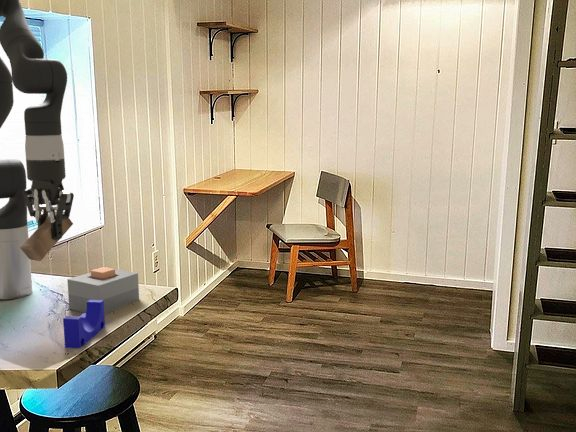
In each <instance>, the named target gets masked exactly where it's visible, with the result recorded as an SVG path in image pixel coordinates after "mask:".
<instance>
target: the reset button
mask: <svg viewBox="0 0 576 432" xmlns="http://www.w3.org/2000/svg"><path fill="white" fill-rule="evenodd" d="M115 269H116V268H113V269H112V267H106V266H105V267H104V266H103V267H99V268H95V269H91V270H90V273H91V277H94V278H98V280H105V279H109V278H108V277H112V276H115Z"/></svg>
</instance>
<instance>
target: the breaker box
mask: <svg viewBox="0 0 576 432" xmlns="http://www.w3.org/2000/svg"><path fill="white" fill-rule="evenodd" d="M111 268H112V267H111ZM112 269H115V276H112V277H108V278H109V279H105V280H98V278H94V277H91V272H87V273H84V274H80V275H77V276H74V277H71V278H67V293H68V294H67V295H68V309H69V310H72V311H76V312H77V311H78V312H80V313H86V311H87V301H89V300H104V315H107V314H108V313H111V312H114V311H115V310H118V309H120V308H122V307H124V306H127V305H130V304H132V303H134V302H137V301H139V300H140V291H139V290H140V289H139V287H140V286H139V273H138V272H135V271H134V272H133V271H127V270H123V269H118V268H112ZM131 302H132V303H131ZM129 303H130V304H129Z"/></svg>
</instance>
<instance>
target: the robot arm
mask: <svg viewBox="0 0 576 432" xmlns="http://www.w3.org/2000/svg"><path fill="white" fill-rule="evenodd" d="M0 17H3V18H5V19H4V20H3V22H2V23H1V26H0V46H1V47H2V50H3V52H4V53H5V55H6V56H7V58H8V59H9V63H10V68H11V69H10V68H8V66H7V65H6V63H5V61H4V60H3V58H2V57H1V56H0V129H2V126H3V125H4V124H5V122H6V120H7V119H8V116H9V114H10V113H11V112H12V109H13V106H14V91H13V90H14V88H15V89H17V90H18V91H19V92H20V93H22V94H23V93H24V94H26V95H27V94H31V95H32V94H35V95H37V94H39V95H40V94H41V95H46V96H45V98H44V100H43V102H42V103H39V104H37V105H36V104H35V105H31V106H29V107H26V108H25V110H24V113H23V117H24V131H25V132H24V133H25V134H24V135H25V144H24V147H25V150H24V152H25V163H26V164H25V165H26V169H25V165H24V163H23V162H22V161H21V160H20V159H16V158H14V159H13V158H12V159H10V158H9V159H0V199H8V202H7V203H6V204H5V205H4V206H2V207H1V208H0V300H13V299H15V300H16V299H22V298H25V297H28V296H29V295H31V294H32V293H33V283H32V282H33V280H32V269H31V268H32V267H31V265H32V264H31V259H29V258H28V257H27V256H26V254H25V253H24V252H23V251H22V250H21V248H20V247H21V246H22V245H23V244H24V243H25V242H26V241H27V240H28V239H29V238H30V237H29V227H28V213H29V216H30V217H31V218H32V217H34V218H35V220H36V222H37V229H38V228H39V227H40V226H41V225H42V224H43V223H44V222H45V220H46V219H47V218H48V217H49V216H50V219H51V223H50V224H51V234H52V239H53V240H57V239H60V240H61V239H62V238H63V236H64V235H63V231H62V221H63V220H64V219H68V218H69V219H70V217H71V216H70V214H71V211H72V206H73V202H74V201H73V200H74V193H73V192H67V191H66V190H65V188H64V185H63V180H64V179H65V178H66V162H65V161H66V160H65V148H64V141H63V135H62V122H61V121H62V120H61V118H62V117H61V115H62V109H63V108H62V107H63V102H64V97H65V93H66V89H67V85H68V84H67V83H68V73H67V70H66V67H65V65H64V64H63V63H62V62H61V61H60V60H58V59H55V58H54V59H53V58H45V57H44V56H45V54H44V50H43V47H42V46H41V44H40V42H39V41H38V39H37V37H36V36H35V34H34V32H32V29H31V27H30V26H29V24H28V21H27V19H26V14H25V13H24V10H23V7H22V4H21V2H20V0H0ZM9 69H10V70H11V71H10V70H9ZM13 87H14V88H13ZM27 180H28V181H31V185H30V186H31V187H30V188H29V189H27ZM55 211H57V214H56V216H55ZM63 212H64V213H63ZM62 235H63V236H62Z"/></svg>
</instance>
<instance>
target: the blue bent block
mask: <svg viewBox="0 0 576 432" xmlns="http://www.w3.org/2000/svg"><path fill="white" fill-rule="evenodd" d="M62 319H63V321H62V322H63V324H62V325H63V335H64V337H63V338H64V348H65V349H66V348H67V349H69V348H70V349H81V348H83V346H84V345H86V344H87V343H88V342H89V341H90V340H91V339H93V338H94V337H95V336H96V335H97V334H99V333H100V332H101V331H102V330H103V329H104V328H106V320H105V314H104V300H89V301H87V311H86V313H84V312H82V314H80V315H79V316H73V315H70V316H68V315H67V316H65V317H63V318H62Z"/></svg>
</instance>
